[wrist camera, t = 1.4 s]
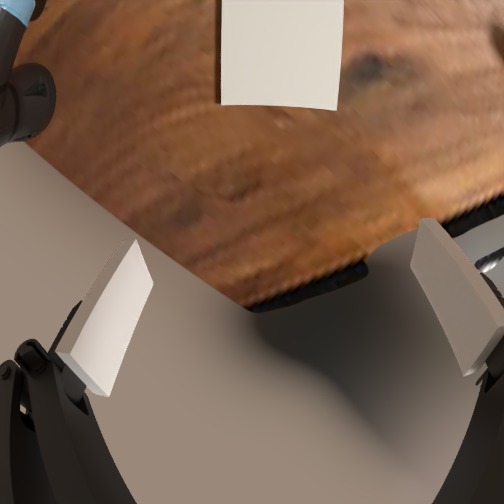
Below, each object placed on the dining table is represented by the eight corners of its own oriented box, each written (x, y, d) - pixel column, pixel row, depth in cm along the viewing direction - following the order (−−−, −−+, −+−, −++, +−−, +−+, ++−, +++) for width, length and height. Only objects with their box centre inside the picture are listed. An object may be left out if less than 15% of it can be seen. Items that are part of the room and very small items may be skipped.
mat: (224, -41, 23) (223, -43, 23) (341, -30, 24) (343, -31, 23) (221, 104, 39) (221, 105, 39) (334, 109, 40) (336, 110, 39)
